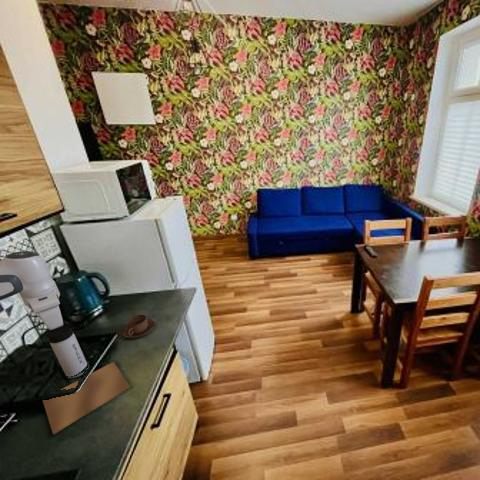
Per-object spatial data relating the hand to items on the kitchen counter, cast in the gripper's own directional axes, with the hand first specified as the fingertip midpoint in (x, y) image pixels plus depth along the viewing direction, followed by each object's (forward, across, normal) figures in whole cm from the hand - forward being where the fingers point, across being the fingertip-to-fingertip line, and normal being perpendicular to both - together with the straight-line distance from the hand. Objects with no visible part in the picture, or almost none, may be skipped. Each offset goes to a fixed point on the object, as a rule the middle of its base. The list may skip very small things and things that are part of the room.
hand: (56, 326), depth 97 cm
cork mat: (+17, +22, 0) cm, 28 cm away
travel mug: (+17, +8, 0) cm, 19 cm away
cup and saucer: (+17, +2, +23) cm, 28 cm away
